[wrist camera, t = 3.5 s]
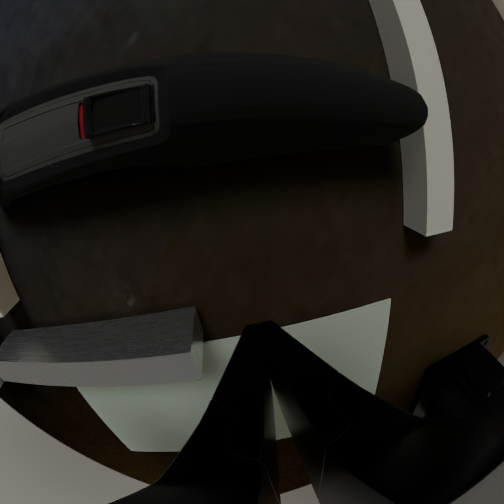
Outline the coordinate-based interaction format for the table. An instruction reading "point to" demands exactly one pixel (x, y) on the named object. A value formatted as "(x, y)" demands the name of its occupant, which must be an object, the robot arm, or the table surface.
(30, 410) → the table surface
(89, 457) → the table surface
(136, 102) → the electric trimmer
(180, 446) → the mat
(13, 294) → the pair of white rails
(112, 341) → the latch bolt
